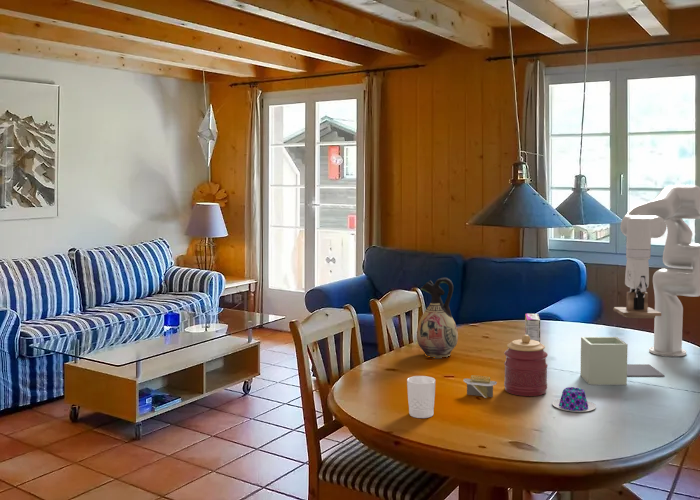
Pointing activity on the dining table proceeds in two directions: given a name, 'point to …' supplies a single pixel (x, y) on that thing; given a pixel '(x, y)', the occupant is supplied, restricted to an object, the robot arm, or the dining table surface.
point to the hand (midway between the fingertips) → (636, 308)
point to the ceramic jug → (437, 322)
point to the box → (604, 360)
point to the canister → (525, 367)
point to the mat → (642, 371)
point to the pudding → (574, 400)
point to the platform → (480, 386)
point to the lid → (632, 313)
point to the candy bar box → (532, 326)
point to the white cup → (421, 396)
